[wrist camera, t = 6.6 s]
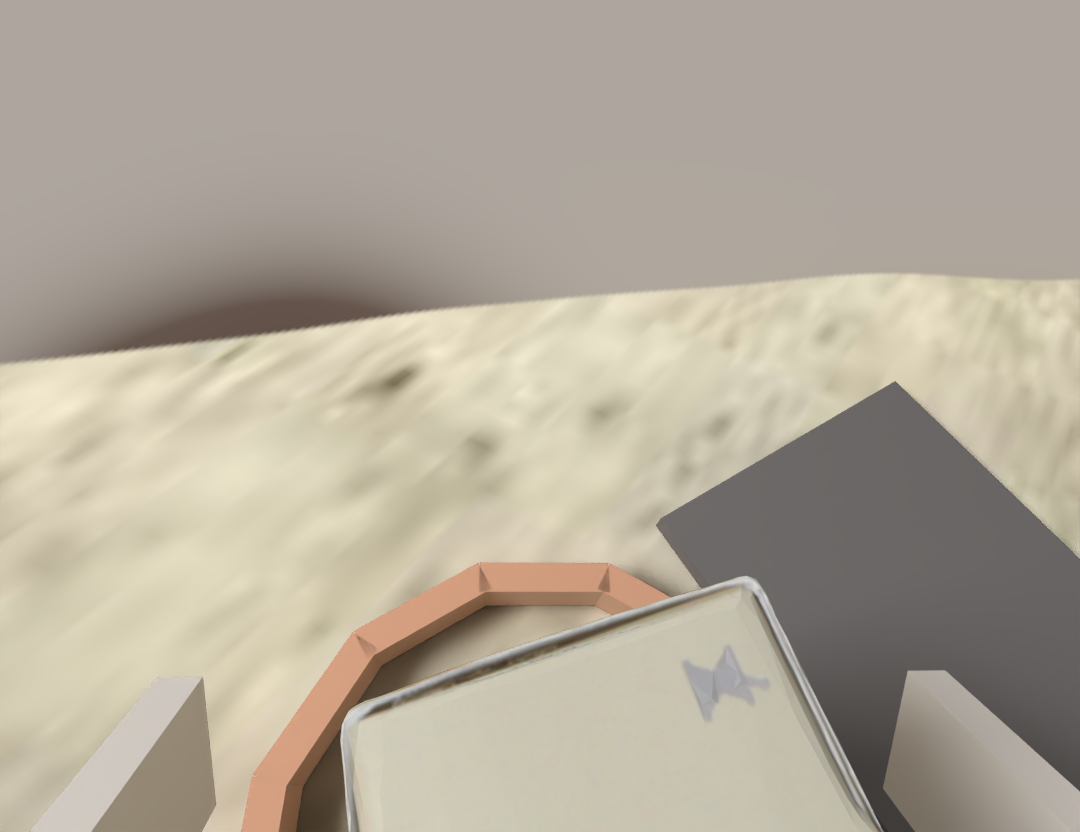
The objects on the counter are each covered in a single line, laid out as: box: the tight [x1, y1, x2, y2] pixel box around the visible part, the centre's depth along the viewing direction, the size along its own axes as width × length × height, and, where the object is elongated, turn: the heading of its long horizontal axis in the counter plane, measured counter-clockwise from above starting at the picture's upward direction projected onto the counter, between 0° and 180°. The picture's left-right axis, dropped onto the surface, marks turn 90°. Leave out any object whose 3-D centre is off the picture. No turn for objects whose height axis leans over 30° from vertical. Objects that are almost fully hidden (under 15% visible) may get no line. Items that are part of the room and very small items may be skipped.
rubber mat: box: [656, 381, 1080, 832], centre depth 18 cm, size 11×15×1 cm
